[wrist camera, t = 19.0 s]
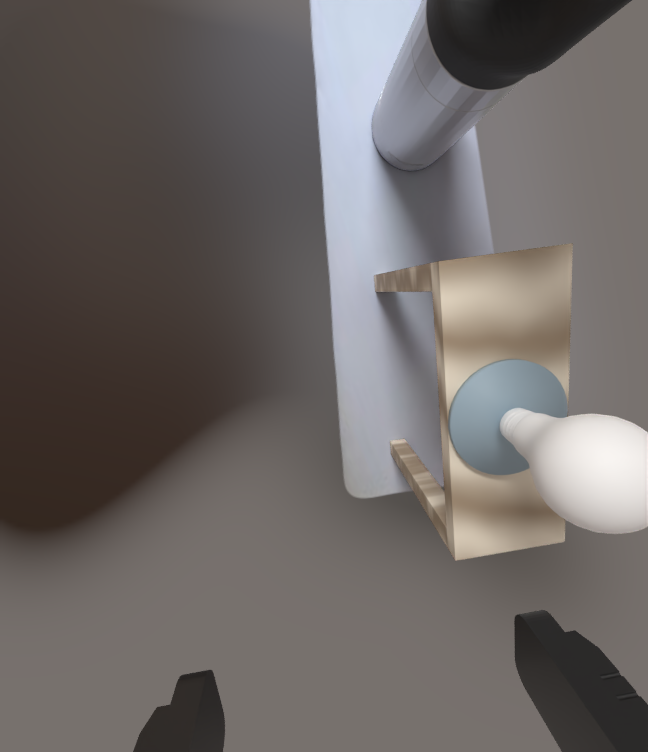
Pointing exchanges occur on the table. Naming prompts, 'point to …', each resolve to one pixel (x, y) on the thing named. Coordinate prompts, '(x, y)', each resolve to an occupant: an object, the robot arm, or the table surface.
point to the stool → (491, 392)
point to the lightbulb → (585, 467)
